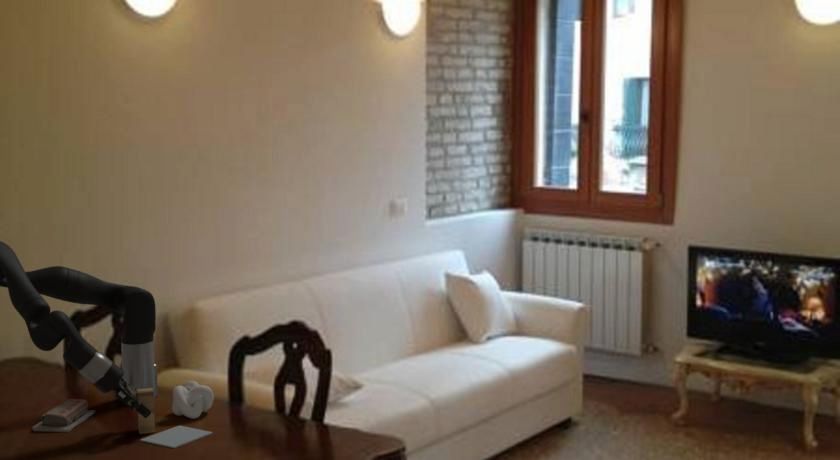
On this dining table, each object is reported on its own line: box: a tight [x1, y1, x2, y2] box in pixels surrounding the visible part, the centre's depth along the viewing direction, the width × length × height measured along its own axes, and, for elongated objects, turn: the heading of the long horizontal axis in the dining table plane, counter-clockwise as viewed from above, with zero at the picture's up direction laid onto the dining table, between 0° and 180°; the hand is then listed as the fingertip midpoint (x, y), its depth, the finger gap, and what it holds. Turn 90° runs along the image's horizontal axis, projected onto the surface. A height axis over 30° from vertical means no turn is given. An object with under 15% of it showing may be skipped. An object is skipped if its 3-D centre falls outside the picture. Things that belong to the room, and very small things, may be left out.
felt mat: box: [139, 425, 214, 449], centre depth 263 cm, size 14×12×1 cm
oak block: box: [137, 388, 156, 435], centre depth 268 cm, size 4×4×11 cm
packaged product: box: [32, 398, 96, 433], centre depth 278 cm, size 18×5×10 cm
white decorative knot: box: [171, 380, 215, 420], centre depth 284 cm, size 11×12×9 cm
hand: (147, 410), depth 269 cm, fingers open, 8 cm apart
